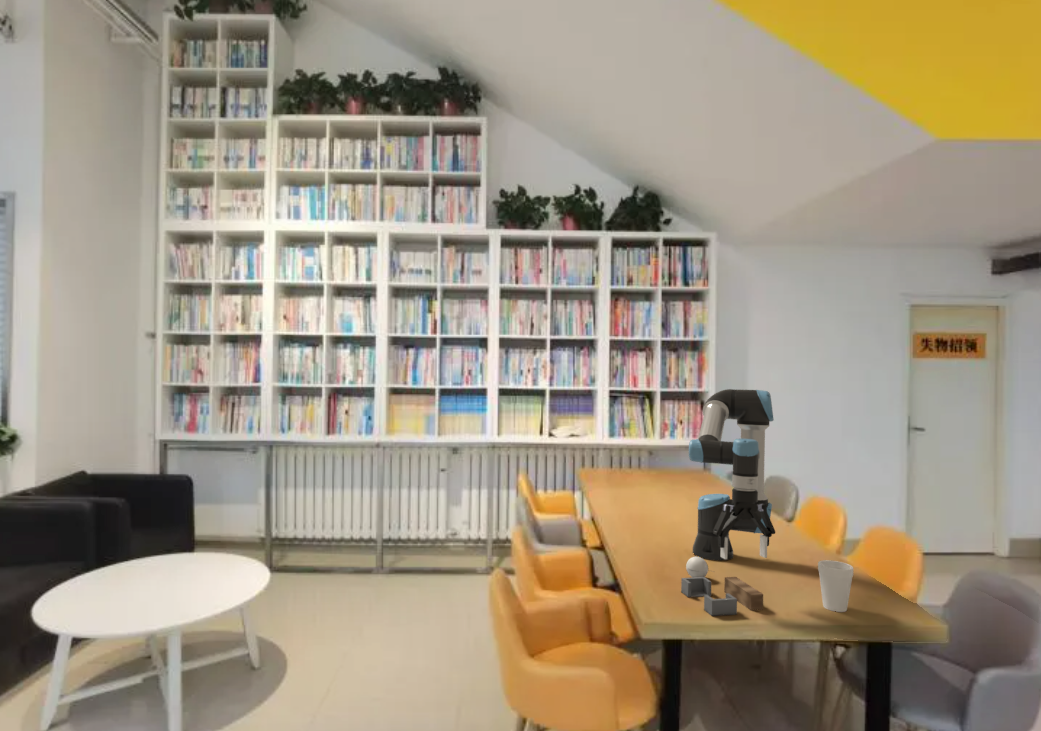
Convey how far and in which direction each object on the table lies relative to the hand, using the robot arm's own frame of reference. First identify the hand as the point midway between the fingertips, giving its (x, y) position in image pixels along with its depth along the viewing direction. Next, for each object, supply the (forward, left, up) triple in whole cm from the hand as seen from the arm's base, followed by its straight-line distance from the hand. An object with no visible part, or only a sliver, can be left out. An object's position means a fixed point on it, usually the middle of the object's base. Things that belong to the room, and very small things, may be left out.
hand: (743, 557), depth 185 cm
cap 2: (+7, -12, -13) cm, 19 cm away
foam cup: (+9, +25, -14) cm, 30 cm away
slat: (0, 0, -14) cm, 14 cm away
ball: (-20, -4, -14) cm, 24 cm away
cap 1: (-7, -12, -14) cm, 19 cm away
